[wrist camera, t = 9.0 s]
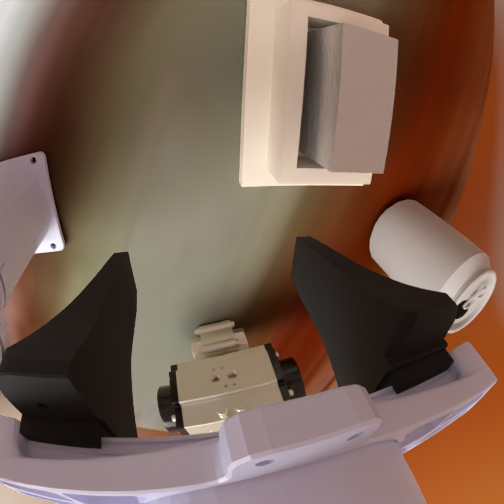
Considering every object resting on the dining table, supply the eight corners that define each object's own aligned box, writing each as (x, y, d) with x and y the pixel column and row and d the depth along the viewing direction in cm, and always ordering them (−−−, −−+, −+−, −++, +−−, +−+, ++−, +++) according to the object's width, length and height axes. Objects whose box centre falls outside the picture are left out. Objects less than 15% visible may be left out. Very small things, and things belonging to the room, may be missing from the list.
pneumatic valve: (274, 332, 31) (312, 429, 21) (169, 356, 30) (179, 460, 20) (270, 296, 28) (317, 404, 18) (151, 323, 26) (155, 440, 17)
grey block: (290, 145, 19) (330, 172, 14) (296, 35, 15) (343, 22, 10) (334, 147, 20) (383, 173, 15) (343, 43, 16) (398, 39, 11)
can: (351, 243, 27) (427, 333, 17) (398, 181, 24) (495, 250, 14) (389, 269, 30) (454, 345, 21) (430, 217, 28) (507, 282, 18)
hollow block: (239, 182, 21) (252, 203, 18) (247, -6, 13) (263, -24, 10) (356, 181, 23) (384, 200, 20) (374, 21, 16) (407, 18, 12)
